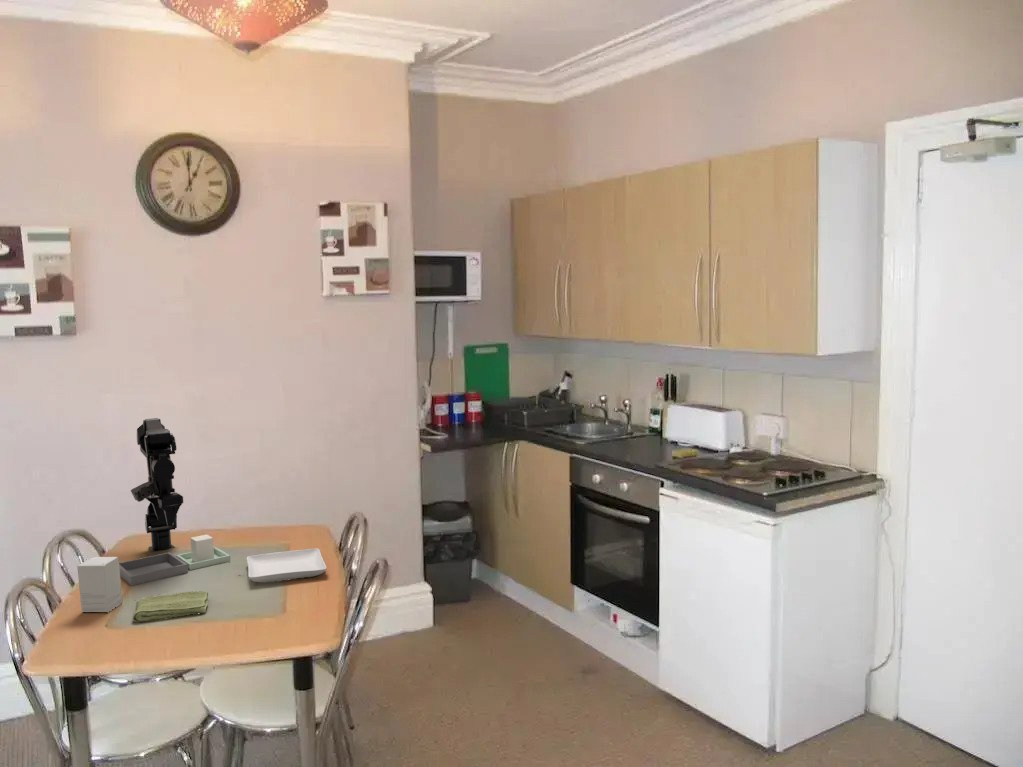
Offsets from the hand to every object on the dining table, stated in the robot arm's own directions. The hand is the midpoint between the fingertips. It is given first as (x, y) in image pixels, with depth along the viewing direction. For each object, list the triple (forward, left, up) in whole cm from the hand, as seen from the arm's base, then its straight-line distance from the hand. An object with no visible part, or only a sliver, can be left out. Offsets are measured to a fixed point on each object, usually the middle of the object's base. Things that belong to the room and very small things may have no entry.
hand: (164, 523), depth 257 cm
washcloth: (+41, -12, -13) cm, 44 cm away
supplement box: (+27, -25, -12) cm, 39 cm away
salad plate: (+33, +23, -13) cm, 42 cm away
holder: (+8, +8, -12) cm, 16 cm away
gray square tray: (+8, -7, -12) cm, 16 cm away
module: (+8, +8, -11) cm, 16 cm away
